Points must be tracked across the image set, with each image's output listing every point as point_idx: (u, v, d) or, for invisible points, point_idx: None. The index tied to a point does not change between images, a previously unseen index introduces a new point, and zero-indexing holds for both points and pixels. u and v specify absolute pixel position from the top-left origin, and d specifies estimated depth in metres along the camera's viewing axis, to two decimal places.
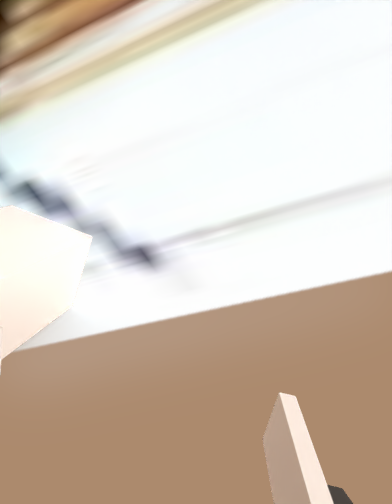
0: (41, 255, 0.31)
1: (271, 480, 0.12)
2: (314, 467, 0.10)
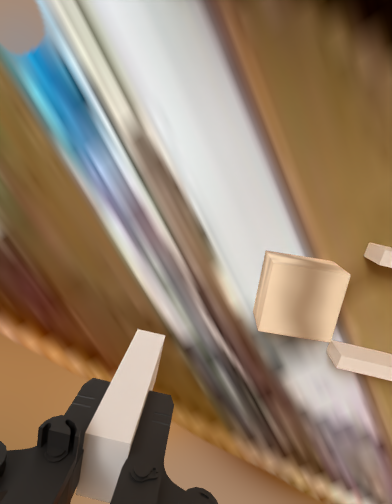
0: None
1: None
2: (146, 377, 0.12)
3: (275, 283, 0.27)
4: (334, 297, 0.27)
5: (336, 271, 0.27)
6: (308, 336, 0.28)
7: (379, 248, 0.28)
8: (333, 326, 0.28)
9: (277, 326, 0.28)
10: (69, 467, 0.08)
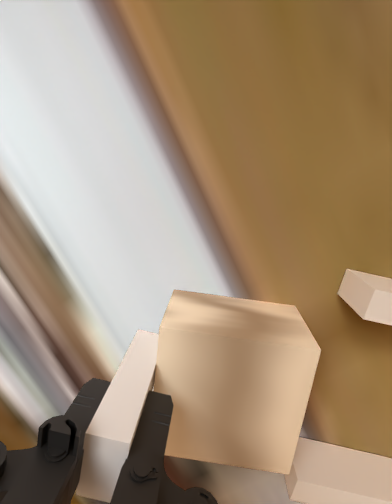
0: None
1: None
2: (146, 377, 0.12)
3: (168, 366, 0.13)
4: (291, 392, 0.13)
5: (292, 340, 0.13)
6: (245, 463, 0.14)
7: (364, 284, 0.14)
8: (292, 446, 0.14)
9: (183, 445, 0.14)
10: (69, 467, 0.08)
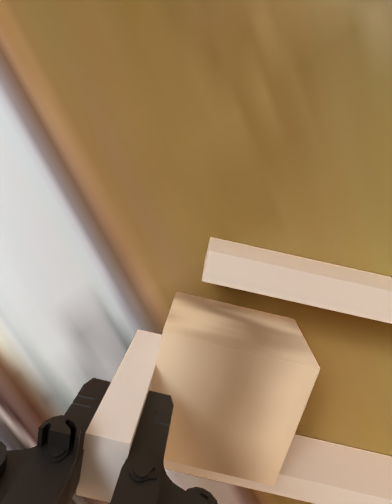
0: None
1: None
2: (145, 377, 0.12)
3: (166, 370, 0.13)
4: (285, 407, 0.13)
5: (292, 356, 0.13)
6: (232, 471, 0.15)
7: (208, 248, 0.14)
8: (280, 459, 0.14)
9: (172, 449, 0.14)
10: (69, 467, 0.08)
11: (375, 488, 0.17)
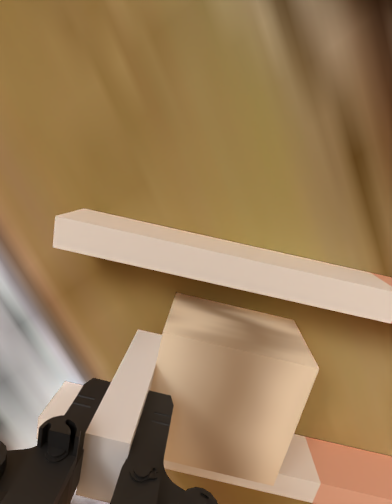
0: None
1: None
2: (146, 377, 0.12)
3: (167, 371, 0.13)
4: (285, 406, 0.13)
5: (292, 356, 0.13)
6: (231, 472, 0.15)
7: None
8: (280, 459, 0.14)
9: (172, 449, 0.15)
10: (69, 467, 0.08)
11: None
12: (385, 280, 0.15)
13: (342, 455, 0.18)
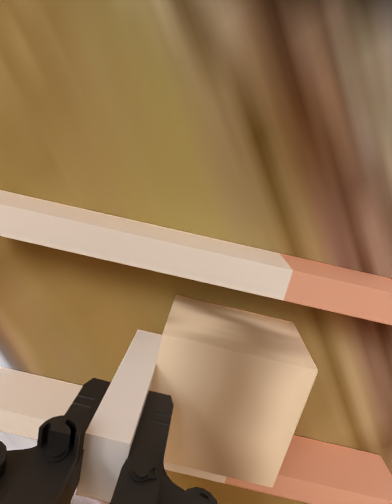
0: None
1: None
2: (145, 377, 0.12)
3: (166, 372, 0.13)
4: (284, 408, 0.13)
5: (291, 358, 0.13)
6: (231, 473, 0.15)
7: None
8: (279, 460, 0.14)
9: (171, 451, 0.15)
10: (69, 467, 0.08)
11: None
12: (288, 259, 0.15)
13: None
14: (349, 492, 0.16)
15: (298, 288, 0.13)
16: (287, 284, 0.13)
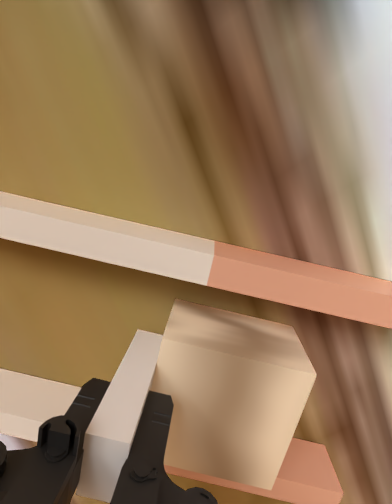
0: None
1: None
2: (146, 377, 0.12)
3: (166, 376, 0.14)
4: (283, 412, 0.14)
5: (290, 362, 0.13)
6: (230, 476, 0.15)
7: None
8: (278, 464, 0.14)
9: (171, 454, 0.15)
10: (69, 467, 0.08)
11: None
12: (219, 246, 0.15)
13: None
14: (284, 480, 0.16)
15: (220, 274, 0.13)
16: (209, 269, 0.13)
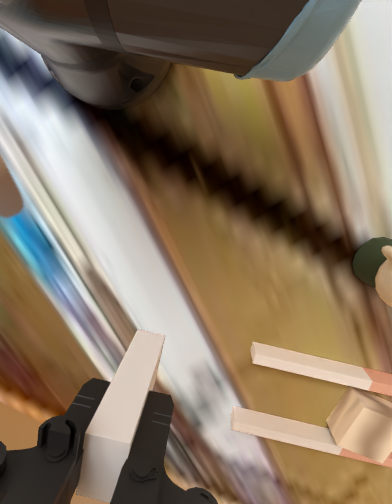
0: None
1: None
2: (146, 377, 0.12)
3: (360, 419, 0.40)
4: None
5: None
6: (369, 456, 0.41)
7: (254, 350, 0.40)
8: (388, 454, 0.41)
9: (350, 445, 0.41)
10: (69, 467, 0.08)
11: (315, 438, 0.43)
12: (367, 372, 0.41)
13: None
14: (388, 458, 0.42)
15: (373, 387, 0.40)
16: (370, 385, 0.40)
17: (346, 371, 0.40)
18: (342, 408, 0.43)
